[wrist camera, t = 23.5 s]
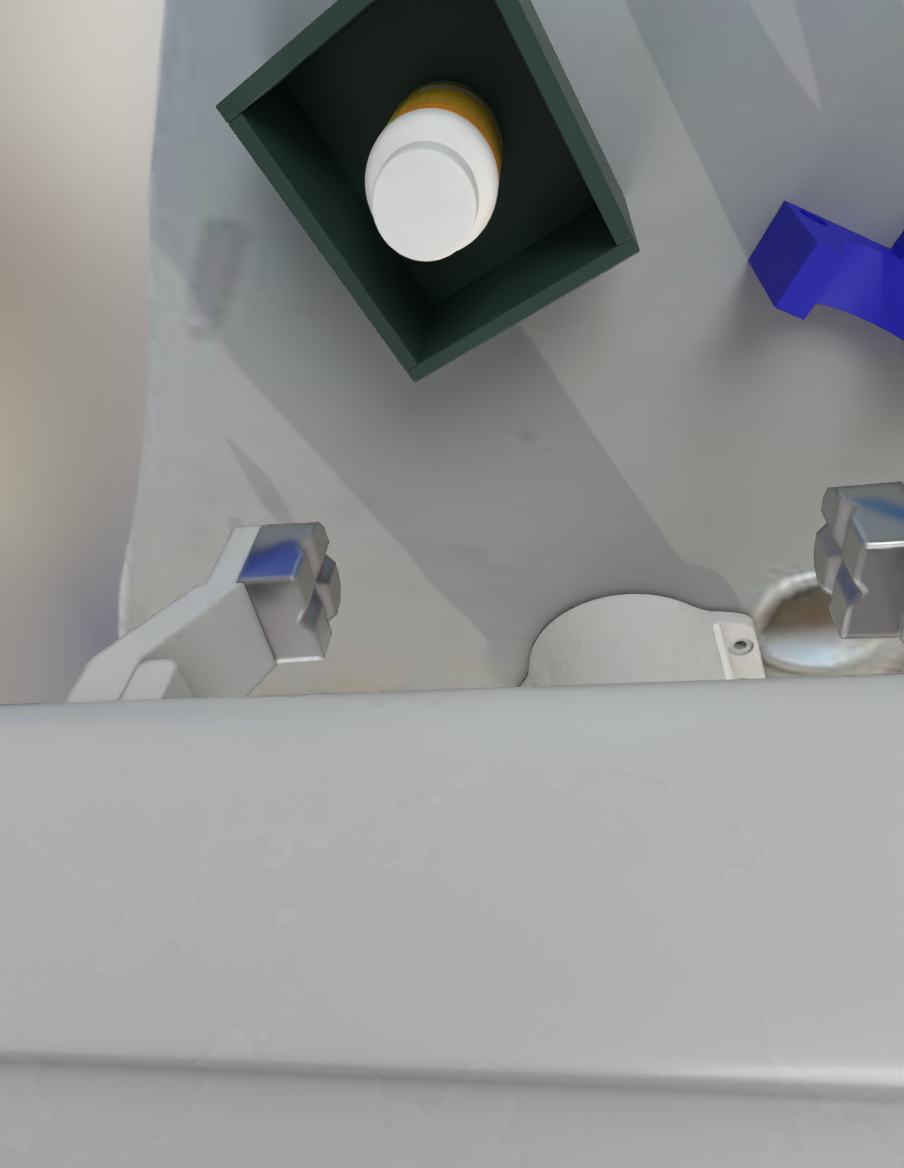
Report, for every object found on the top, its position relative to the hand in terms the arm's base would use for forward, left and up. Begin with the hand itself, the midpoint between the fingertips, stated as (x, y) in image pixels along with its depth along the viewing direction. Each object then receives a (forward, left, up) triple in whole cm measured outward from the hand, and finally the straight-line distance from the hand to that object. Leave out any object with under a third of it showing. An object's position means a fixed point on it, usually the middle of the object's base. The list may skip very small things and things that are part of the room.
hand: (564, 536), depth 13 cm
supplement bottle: (+2, +4, -31) cm, 31 cm away
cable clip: (-14, -11, -31) cm, 36 cm away
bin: (+2, +4, -31) cm, 31 cm away
